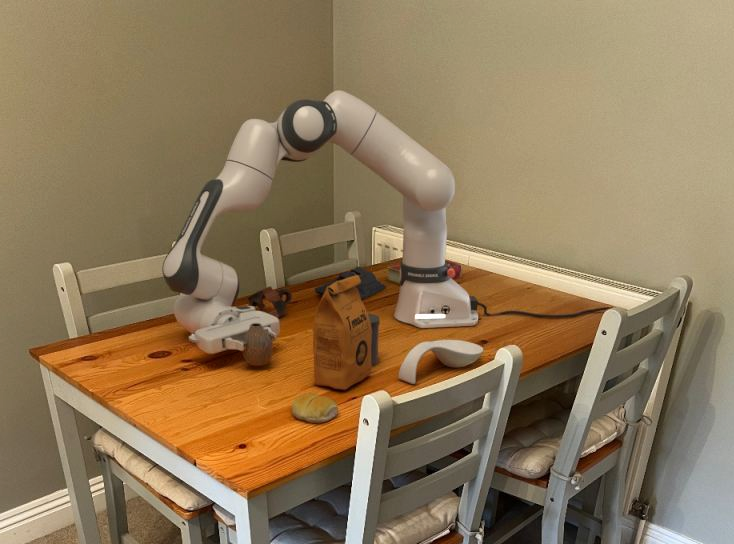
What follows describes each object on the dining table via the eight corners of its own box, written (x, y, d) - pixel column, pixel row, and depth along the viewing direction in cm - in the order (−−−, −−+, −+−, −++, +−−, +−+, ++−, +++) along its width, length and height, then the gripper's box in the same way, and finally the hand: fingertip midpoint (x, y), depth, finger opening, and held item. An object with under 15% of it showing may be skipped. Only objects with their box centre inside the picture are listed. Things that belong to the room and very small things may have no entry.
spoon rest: (451, 349, 179) (454, 320, 175) (491, 362, 172) (495, 332, 168) (386, 376, 164) (387, 345, 160) (427, 391, 158) (429, 359, 154)
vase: (276, 357, 170) (274, 320, 165) (270, 369, 164) (268, 330, 159) (246, 356, 170) (244, 318, 165) (239, 367, 164) (236, 329, 159)
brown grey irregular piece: (264, 324, 193) (249, 295, 191) (254, 330, 202) (239, 302, 199) (302, 305, 197) (288, 276, 195) (291, 312, 206) (277, 284, 203)
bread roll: (307, 402, 152) (307, 384, 150) (343, 413, 148) (343, 394, 146) (282, 416, 146) (281, 397, 144) (319, 428, 142) (319, 409, 140)
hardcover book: (461, 277, 232) (462, 263, 230) (412, 289, 221) (413, 274, 219) (434, 269, 240) (435, 256, 238) (386, 280, 228) (386, 266, 226)
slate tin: (378, 355, 175) (379, 313, 169) (378, 367, 168) (379, 323, 163) (347, 355, 175) (347, 312, 169) (346, 367, 168) (346, 323, 163)
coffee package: (378, 378, 163) (381, 277, 151) (344, 396, 155) (344, 291, 143) (342, 367, 168) (342, 268, 156) (307, 384, 160) (304, 281, 148)
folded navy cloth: (305, 296, 213) (305, 279, 210) (346, 278, 229) (346, 263, 226) (351, 305, 207) (351, 288, 204) (389, 286, 223) (390, 270, 220)
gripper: (182, 323, 164) (219, 339, 156) (256, 304, 176) (294, 318, 168) (186, 350, 167) (221, 368, 159) (258, 329, 180) (295, 345, 171)
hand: (259, 342), depth 164 cm, fingers closed on vase, 7 cm apart
